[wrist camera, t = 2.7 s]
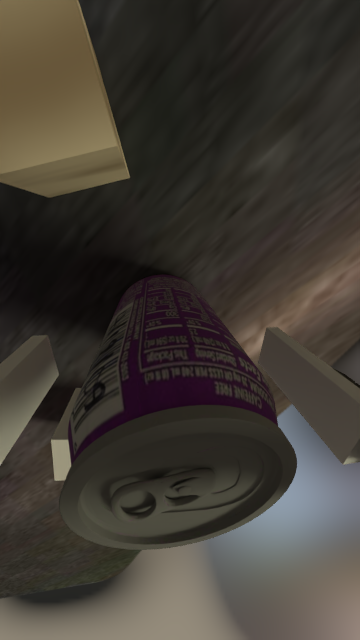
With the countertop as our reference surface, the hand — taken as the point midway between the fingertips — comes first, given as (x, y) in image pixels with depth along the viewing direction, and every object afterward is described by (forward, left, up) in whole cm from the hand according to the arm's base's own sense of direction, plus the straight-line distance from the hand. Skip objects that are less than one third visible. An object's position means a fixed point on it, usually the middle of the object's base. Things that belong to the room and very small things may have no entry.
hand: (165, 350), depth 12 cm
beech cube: (-11, -5, -5) cm, 13 cm away
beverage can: (0, 0, -5) cm, 5 cm away
